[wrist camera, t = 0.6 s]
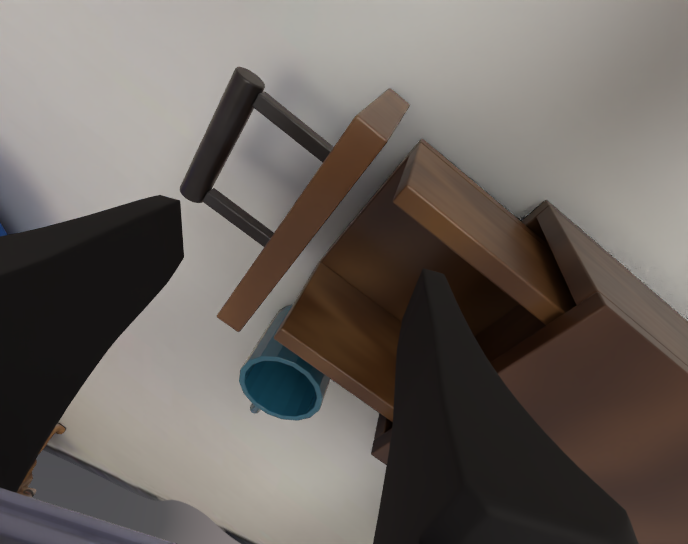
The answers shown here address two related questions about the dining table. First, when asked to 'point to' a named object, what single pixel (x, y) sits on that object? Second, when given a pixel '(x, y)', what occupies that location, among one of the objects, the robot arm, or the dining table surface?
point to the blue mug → (281, 378)
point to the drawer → (378, 246)
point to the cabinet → (606, 383)
